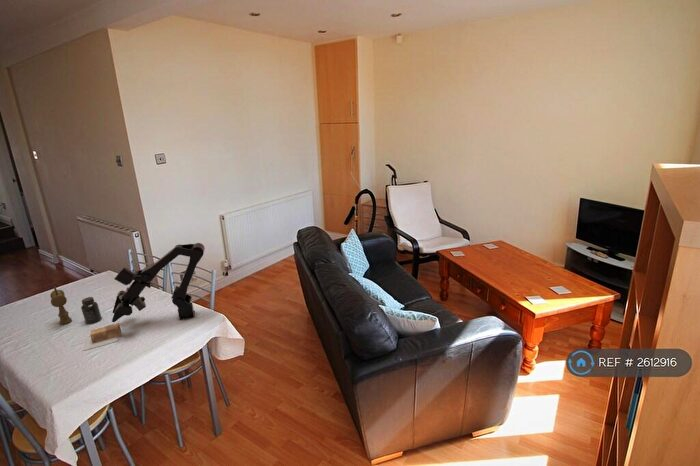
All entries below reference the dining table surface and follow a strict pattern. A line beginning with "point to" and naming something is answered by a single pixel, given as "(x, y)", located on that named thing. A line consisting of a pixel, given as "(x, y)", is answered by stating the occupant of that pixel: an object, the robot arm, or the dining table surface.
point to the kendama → (60, 305)
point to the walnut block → (105, 333)
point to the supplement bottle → (90, 310)
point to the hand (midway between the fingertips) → (113, 317)
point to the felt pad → (90, 344)
